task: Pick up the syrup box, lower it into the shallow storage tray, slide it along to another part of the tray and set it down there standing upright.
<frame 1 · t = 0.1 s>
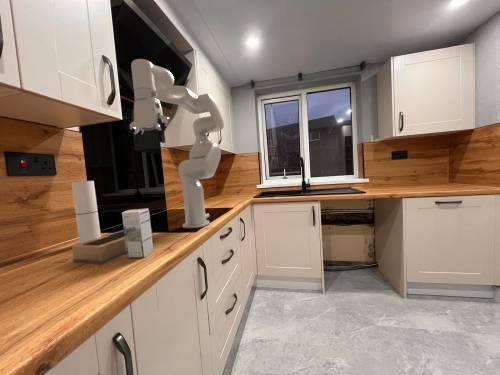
hand: (151, 144, 83), 37 cm above the table, tool pointing down, fingers open, 9 cm apart
syrup box: (141, 255, 71), on the table
shallow storage tray: (117, 251, 77), on the table
cylindrical container: (90, 244, 89), on the table
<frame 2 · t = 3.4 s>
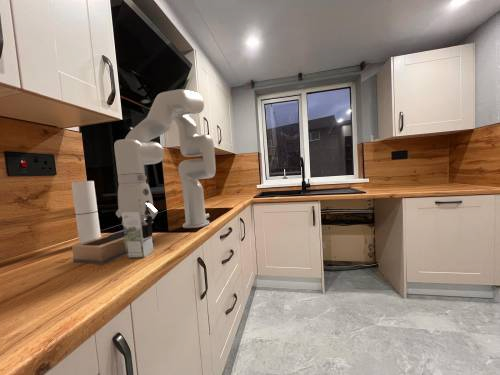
hand: (138, 236, 70), 6 cm above the table, tool pointing down, fingers closed on syrup box, 6 cm apart
syrup box: (141, 255, 71), on the table, touching gripper
everything else where it was.
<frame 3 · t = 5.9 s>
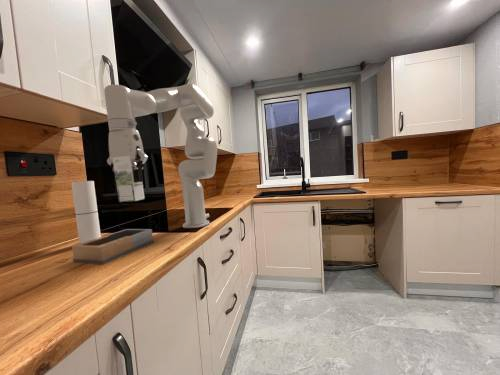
hand: (129, 182, 72), 23 cm above the table, tool pointing down, fingers closed on syrup box, 6 cm apart
syrup box: (132, 201, 73), point 17 cm above the table, touching gripper
everything else where it was.
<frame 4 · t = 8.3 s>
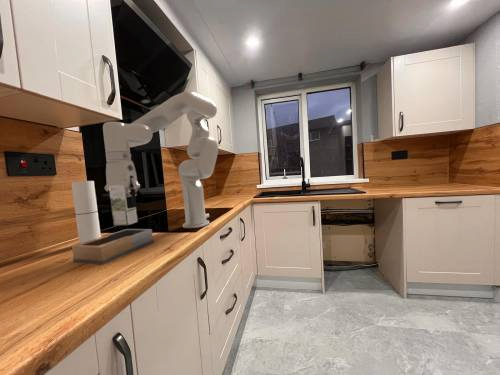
hand: (124, 207, 80), 14 cm above the table, tool pointing down, fingers closed on syrup box, 6 cm apart
syrup box: (126, 224, 80), point 8 cm above the table, touching gripper
everything else where it was.
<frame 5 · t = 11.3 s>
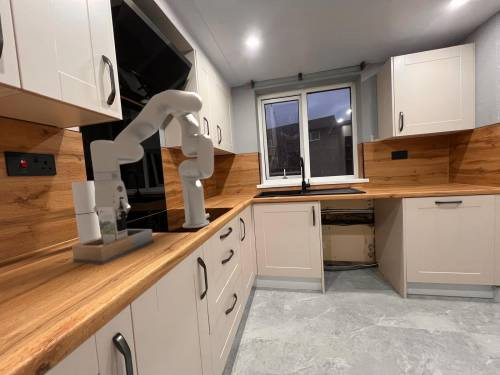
hand: (114, 229, 76), 7 cm above the table, tool pointing down, fingers closed on syrup box, 6 cm apart
syrup box: (116, 247, 76), point 1 cm above the table, touching gripper
everything else where it was.
when the fingers open (7 cm above the table, at t = 13.4 s): syrup box stays where it is, resting on shallow storage tray.
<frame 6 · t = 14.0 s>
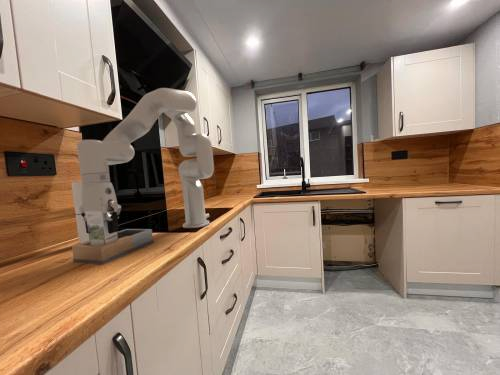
hand: (102, 232, 72), 8 cm above the table, tool pointing down, fingers open, 9 cm apart
syrup box: (105, 253, 73), point 1 cm above the table, touching shallow storage tray
everything else where it was.
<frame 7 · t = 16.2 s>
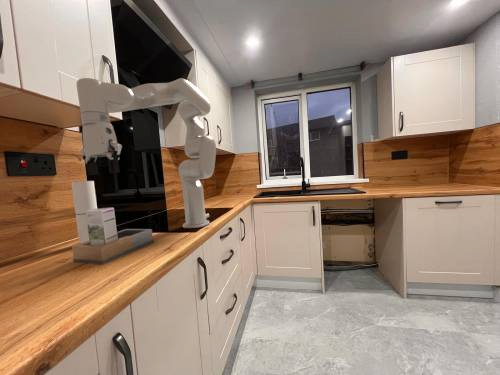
hand: (103, 173, 73), 27 cm above the table, tool pointing down, fingers open, 9 cm apart
nothing on the table moved.
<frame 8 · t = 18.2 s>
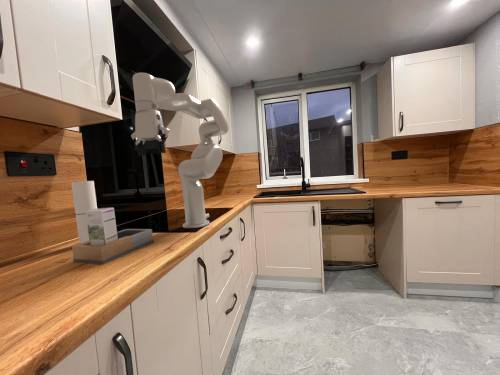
hand: (151, 154, 85), 33 cm above the table, tool pointing down, fingers open, 9 cm apart
nothing on the table moved.
at the end: syrup box 0.3 cm from the target spot on the shallow storage tray, point 0.8 cm above the shallow storage tray's base; syrup box tilted 0°; the gripper is holding nothing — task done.
